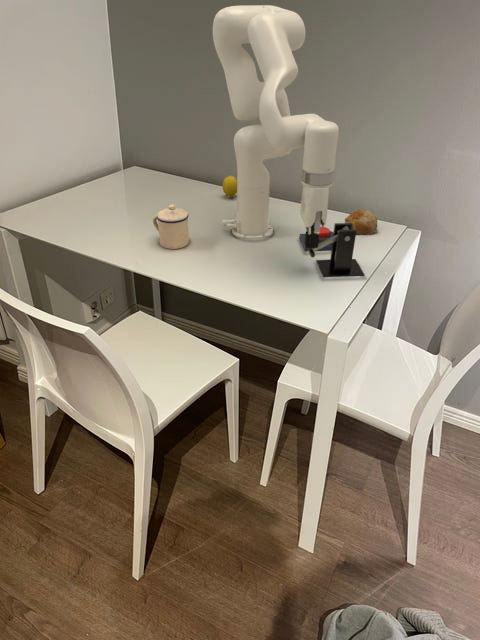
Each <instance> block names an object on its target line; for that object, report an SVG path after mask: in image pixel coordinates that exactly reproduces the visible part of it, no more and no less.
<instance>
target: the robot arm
mask: <svg viewBox="0 0 480 640" xmlns="http://www.w3.org/2000/svg"><path fill="white" fill-rule="evenodd" d="M305 39H306V26H305V23H304V20H303V19H302V17H301V16H300V15H299V14H298V13H297V12H295V11H292V10H289V9H286V8H281V7H279V6H275V5H269V4H266V5H265V4H264V5H263V4H261V5H260V4H259V5H256V4H255V5H231V6H227V7H224V8H222V9H219V11H218V12H217V13H216V14H215V16H214V18H213V22H212V41H213V44H214V48H215V51H216V52H215V53H216V54H217V56H218V59H219V61H220V64H221V67H222V69H223V73H224V77H225V81H226V86H227V91H228V96H229V102H230V105H231V106H230V107H231V110H232V113H233V116H234V117H235V119H236V120H238V121H240V122H251V121H260V123H259V124H250V125H246V126H244V127H241V128H240V129H238V130H237V131H236V133H235V135H234V138H233V148H234V155H235V160H236V161H235V162H236V175H237V176H236V180H237V193H236V195H237V196H236V199H237V200H236V201H237V203H236V206H237V207H236V213H237V214H236V215H235V217H234V218H232V219H221V221H222V223H221V225H222V227H226V229H231V231H232V232H231V233H232V235H233V236H235V237H236V238H238V239H251V240H252V239H253V240H254V239H269V238H270V237H272V235H273V233H274V228H273V226H272V225H270V224H269V217H270V216H269V213H270V211H269V210H270V190H271V189H270V188H271V185H270V184H271V176H270V175H271V174H270V172H269V170H268V168H267V166H265V164H264V161H268V160H273V159H279V158H283V157H286V156H289V155H291V153H292V152H293V150H296V149H303V157H302V171H301V184H302V191H301V198H300V199H301V200H300V207H299V208H300V209H299V215H300V217H301V219H302V222H303V224H304V226H305V230H306V231H305V233H304V234H305V247H306V248H317V247H318V242H319V233H320V227H326V224H327V218H328V210H329V196H330V195H329V192H330V187H332V186H333V185H334V179H335V170H336V169H335V168H336V160H337V151H338V142H339V132H340V130H339V126H338V124H337V123H336V122H333V121H330V120H326V119H324V118H323V117H322V116H320V115H318V114H316V113H302V114H295V115H294V114H293V115H291V110H290V105H289V99H288V95H287V92H286V90H285V89H286V88H287V87H288V86H290V85H291V84H292V83H293V81H295V80H296V79H297V76H298V74H299V67H298V64H297V62H296V59H295V57H294V54H293V52H294V51H297V50H299V49H301V47H303V45H304V43H305ZM244 44H250V47H251V49H252V52H253V54H254V57H255V60H256V62H257V63H255V61H254V60H253V58H252V56H251V55H250V53H248V51H247V50H245V48H244V47H243V46H242V45H244ZM256 64H257V66H258V68H259V71H260V73H261V76H262V79H263V81H260V79H259V78H258V73H257V68H256Z"/></svg>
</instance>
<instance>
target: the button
mask: <svg viewBox="0 0 480 640" xmlns="http://www.w3.org/2000/svg"><path fill="white" fill-rule="evenodd" d="M330 231H331V230H330V229H329V228H328V227H326V226H324V227H322V226H320V233H319V238H327V237H329V234H330Z"/></svg>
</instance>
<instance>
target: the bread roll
mask: <svg viewBox="0 0 480 640" xmlns="http://www.w3.org/2000/svg"><path fill="white" fill-rule="evenodd" d="M344 223H351V224H352V229H351V230H356V236H363V235H364V236H371V235H374V234H376V233H378V229H377V228H378V218H377V216H376V214H374V212H373V211H370V210H369V209H358V210H355V211H353V212H351V213H349V215H347V216H346V217H345V218H344Z"/></svg>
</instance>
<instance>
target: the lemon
mask: <svg viewBox="0 0 480 640" xmlns="http://www.w3.org/2000/svg"><path fill="white" fill-rule="evenodd" d="M222 191H223V193H224V194H225V195H226V196H228V197H229V198H233V196H234V197H235V195H237V177H235V176H233V175H231V174H230V175H228V176H226V177H225V178H224V179H223V181H222Z"/></svg>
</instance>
